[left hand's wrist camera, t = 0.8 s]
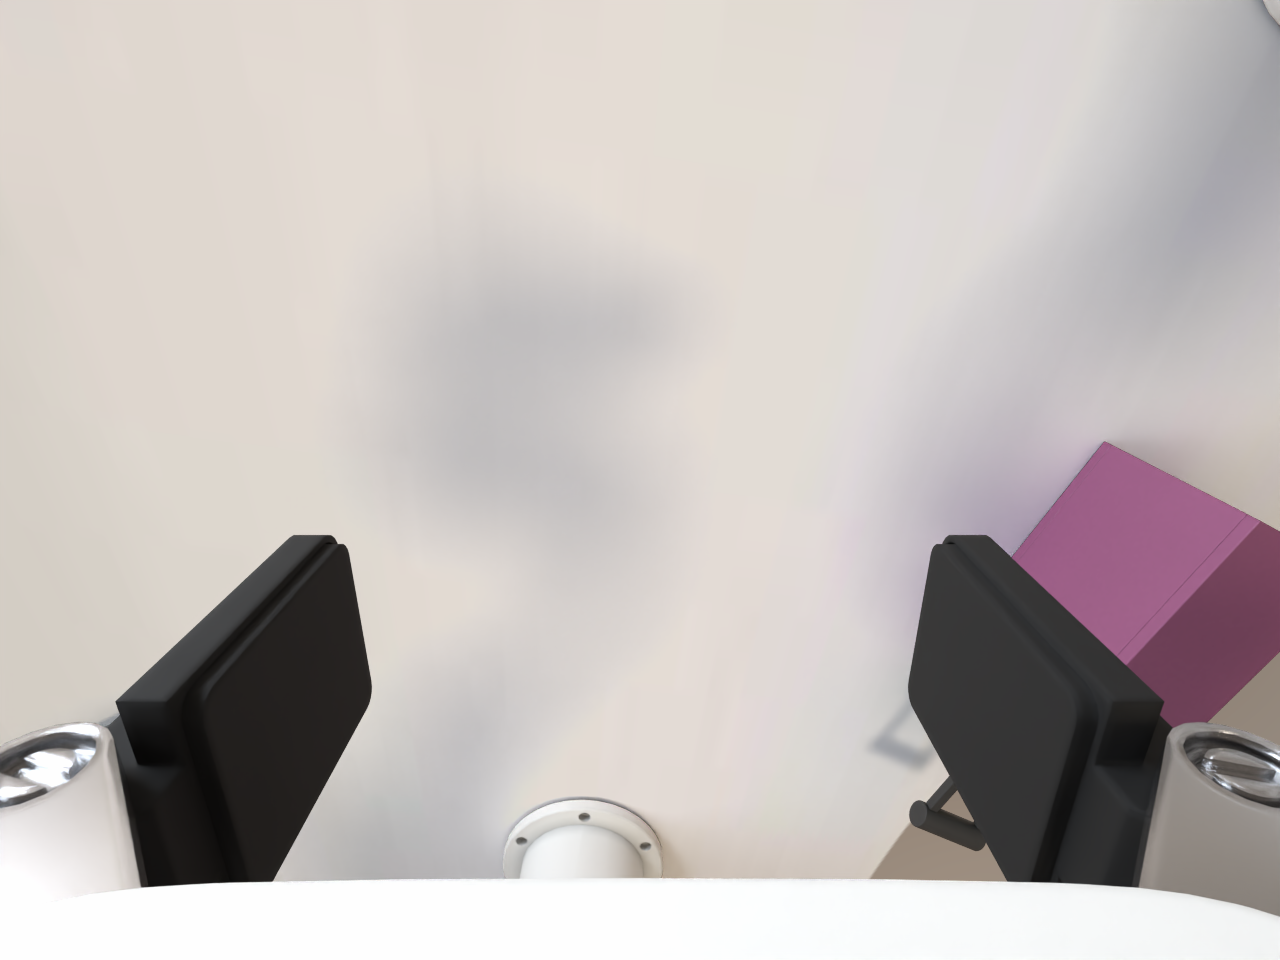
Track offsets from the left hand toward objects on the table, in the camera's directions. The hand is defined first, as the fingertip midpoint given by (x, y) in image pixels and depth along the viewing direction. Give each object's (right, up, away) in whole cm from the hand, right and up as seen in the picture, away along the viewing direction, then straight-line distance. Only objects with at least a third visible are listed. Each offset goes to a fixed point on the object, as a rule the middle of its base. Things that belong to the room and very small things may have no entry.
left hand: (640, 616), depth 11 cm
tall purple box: (+27, -4, +34) cm, 44 cm away
